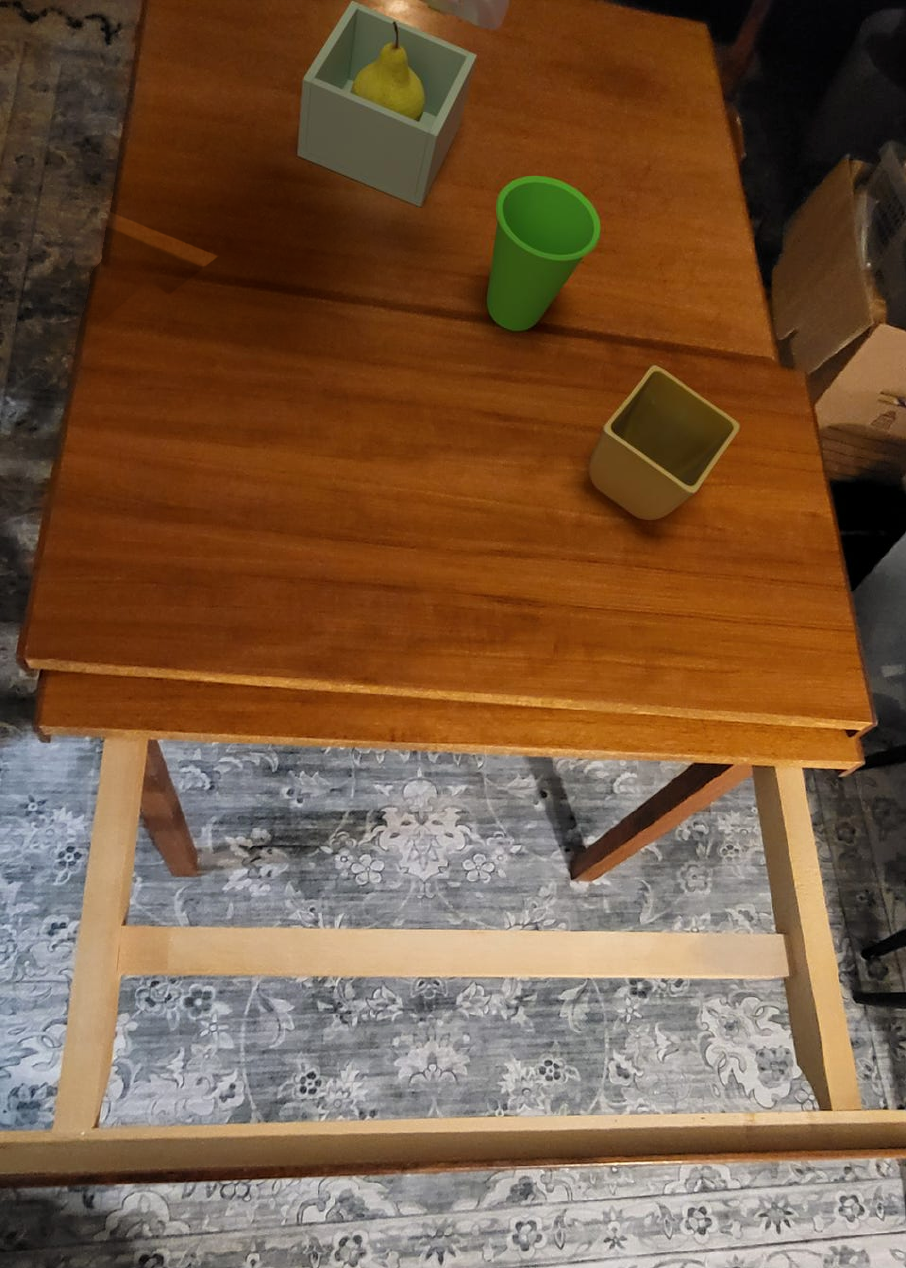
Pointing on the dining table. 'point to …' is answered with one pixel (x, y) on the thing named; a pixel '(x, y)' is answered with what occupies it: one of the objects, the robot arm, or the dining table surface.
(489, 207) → the dining table surface
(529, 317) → the cup
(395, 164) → the bin
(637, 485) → the flower pot
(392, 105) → the fruit
